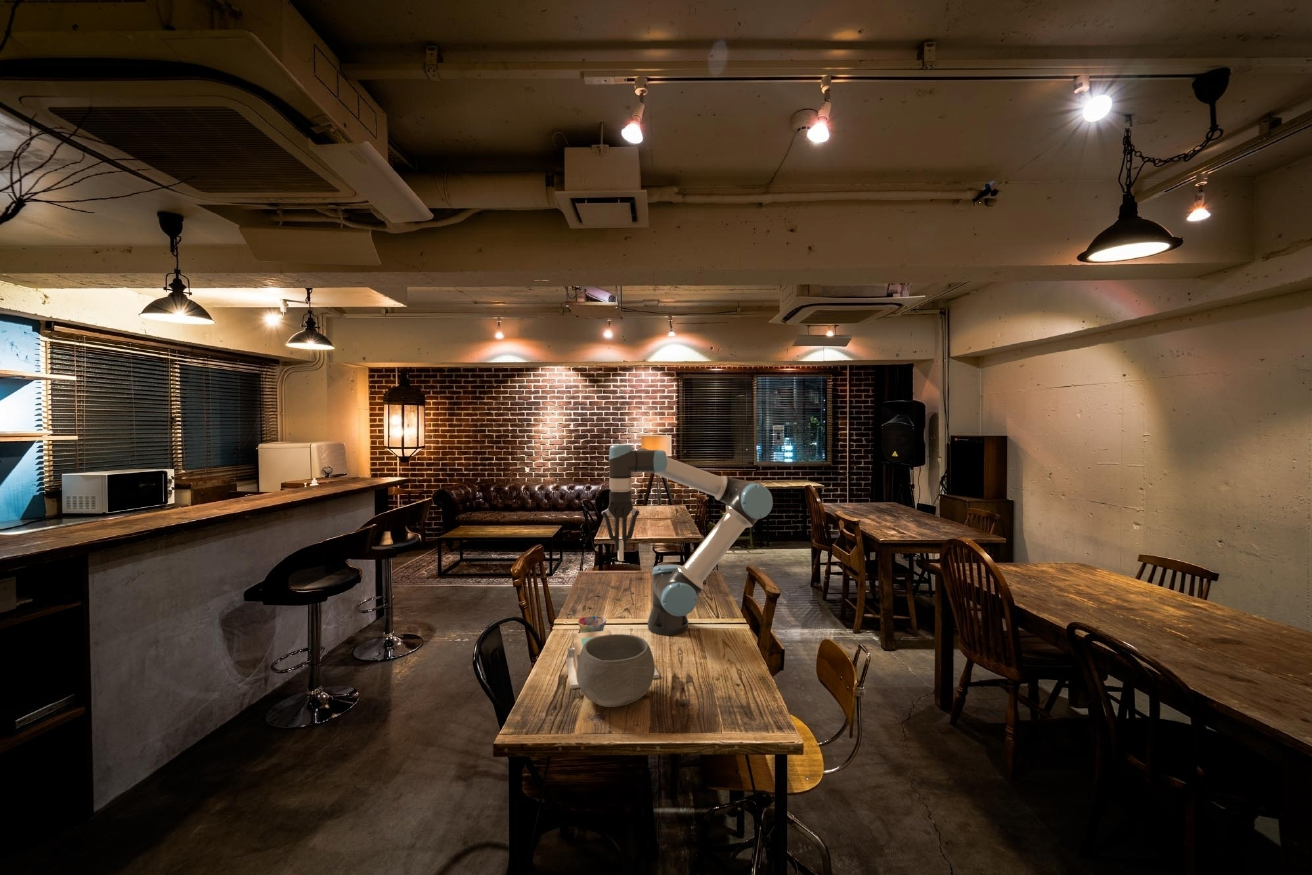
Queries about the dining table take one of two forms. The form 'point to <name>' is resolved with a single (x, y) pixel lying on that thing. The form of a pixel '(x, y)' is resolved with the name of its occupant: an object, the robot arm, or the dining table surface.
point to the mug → (591, 623)
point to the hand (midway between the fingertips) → (620, 559)
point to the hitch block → (578, 647)
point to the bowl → (615, 669)
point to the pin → (570, 652)
